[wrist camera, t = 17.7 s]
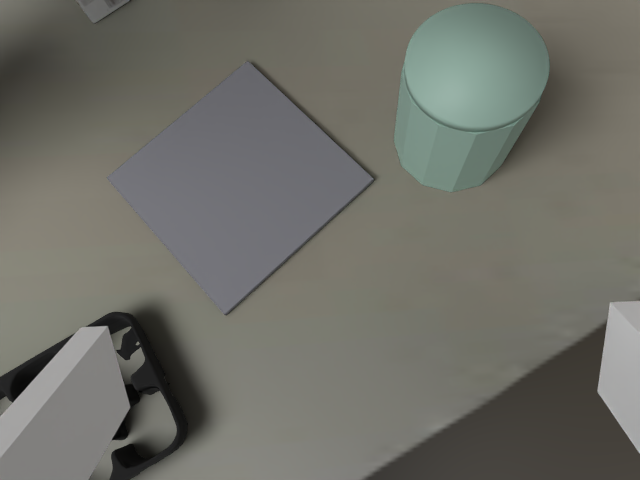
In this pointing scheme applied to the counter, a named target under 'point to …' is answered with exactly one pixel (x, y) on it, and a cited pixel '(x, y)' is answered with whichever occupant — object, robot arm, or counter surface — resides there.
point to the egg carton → (143, 380)
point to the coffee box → (99, 8)
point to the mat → (239, 185)
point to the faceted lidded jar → (467, 93)
